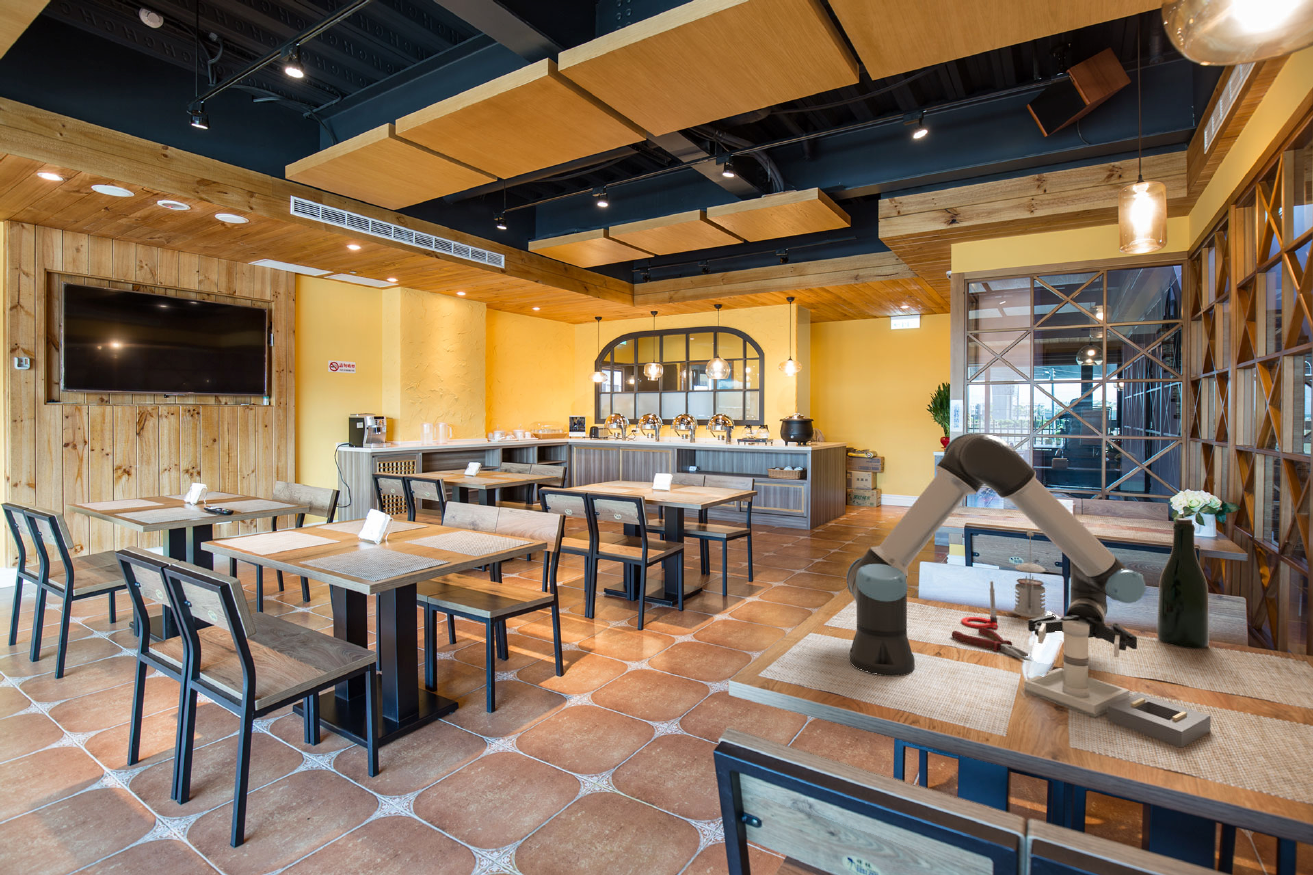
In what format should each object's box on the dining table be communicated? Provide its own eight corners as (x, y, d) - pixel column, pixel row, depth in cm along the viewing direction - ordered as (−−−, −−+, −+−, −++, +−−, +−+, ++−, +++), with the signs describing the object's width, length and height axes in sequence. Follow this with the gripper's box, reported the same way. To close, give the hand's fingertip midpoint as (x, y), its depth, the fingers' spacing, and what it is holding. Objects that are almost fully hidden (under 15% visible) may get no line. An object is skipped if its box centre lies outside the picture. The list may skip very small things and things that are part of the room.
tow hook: (962, 628, 182) (998, 630, 178) (960, 583, 182) (996, 585, 178) (960, 619, 190) (995, 621, 186) (958, 577, 189) (993, 578, 186)
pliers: (1011, 665, 154) (1011, 655, 154) (949, 639, 173) (949, 629, 173) (1046, 659, 158) (1046, 649, 158) (982, 634, 177) (982, 625, 177)
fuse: (1081, 699, 133) (1081, 629, 132) (1057, 691, 137) (1057, 622, 136) (1093, 694, 135) (1094, 625, 135) (1070, 686, 139) (1070, 619, 139)
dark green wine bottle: (1191, 636, 171) (1193, 515, 170) (1219, 650, 161) (1220, 522, 160) (1148, 634, 173) (1149, 515, 172) (1172, 648, 163) (1174, 521, 162)
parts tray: (1094, 717, 126) (1094, 705, 126) (1024, 691, 139) (1024, 680, 138) (1129, 701, 133) (1129, 689, 133) (1059, 678, 145) (1059, 667, 145)
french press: (1048, 610, 195) (1049, 530, 195) (1048, 621, 185) (1048, 536, 185) (1012, 606, 201) (1012, 528, 200) (1010, 616, 191) (1010, 534, 190)
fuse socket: (1181, 747, 115) (1181, 728, 115) (1107, 720, 125) (1108, 702, 125) (1210, 730, 121) (1210, 712, 120) (1137, 706, 131) (1138, 689, 131)
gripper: (1150, 644, 144) (1150, 674, 128) (1025, 623, 160) (1011, 648, 143) (1150, 611, 144) (1151, 638, 127) (1025, 594, 160) (1011, 615, 143)
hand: (1077, 643), depth 135 cm, fingers open, 13 cm apart
